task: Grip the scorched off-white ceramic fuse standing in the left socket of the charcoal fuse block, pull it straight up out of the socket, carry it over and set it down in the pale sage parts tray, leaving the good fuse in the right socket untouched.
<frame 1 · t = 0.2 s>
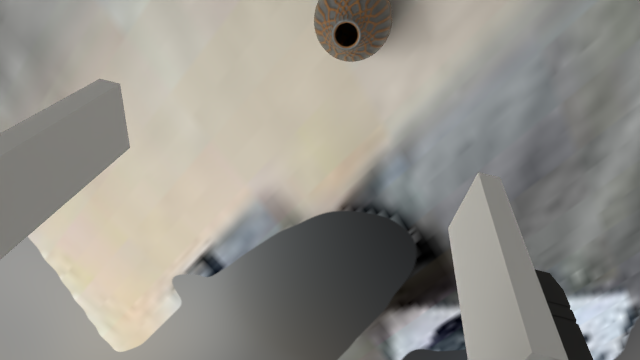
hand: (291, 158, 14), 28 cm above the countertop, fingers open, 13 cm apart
vase: (357, 11, 36), on the countertop
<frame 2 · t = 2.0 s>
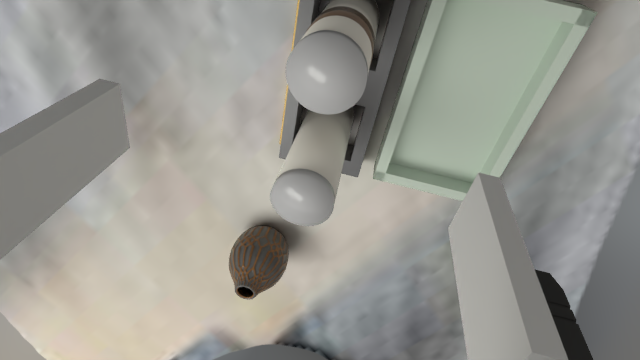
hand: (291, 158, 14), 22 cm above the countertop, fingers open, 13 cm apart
fuse block: (341, 69, 34), on the countertop
blown fuse: (352, 17, 31), resting in fuse block
vase: (268, 236, 48), on the countertop
good fuse: (331, 113, 36), resting in fuse block
parts tray: (461, 98, 33), on the countertop
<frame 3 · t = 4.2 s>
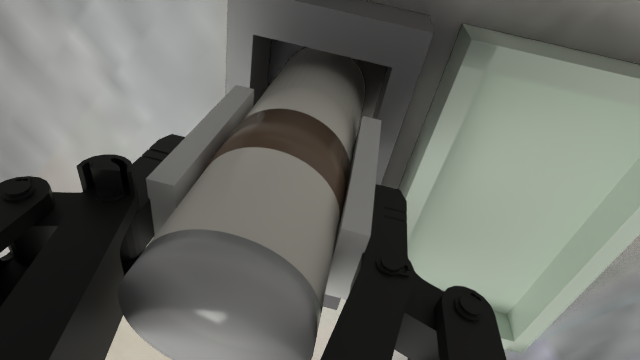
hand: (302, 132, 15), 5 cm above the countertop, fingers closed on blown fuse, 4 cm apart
fuse block: (308, 160, 22), on the countertop
blown fuse: (322, 89, 19), resting in fuse block, touching gripper
parts tray: (493, 207, 21), on the countertop
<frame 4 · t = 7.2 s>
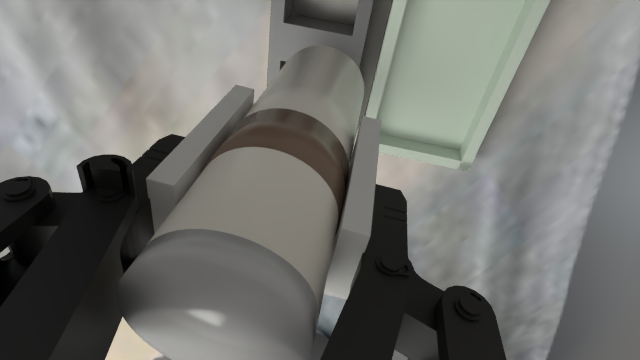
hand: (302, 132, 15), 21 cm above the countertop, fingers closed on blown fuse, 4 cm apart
fuse block: (321, 38, 34), on the countertop
blown fuse: (321, 89, 19), point 16 cm above the countertop, touching gripper
parts tray: (440, 62, 33), on the countertop
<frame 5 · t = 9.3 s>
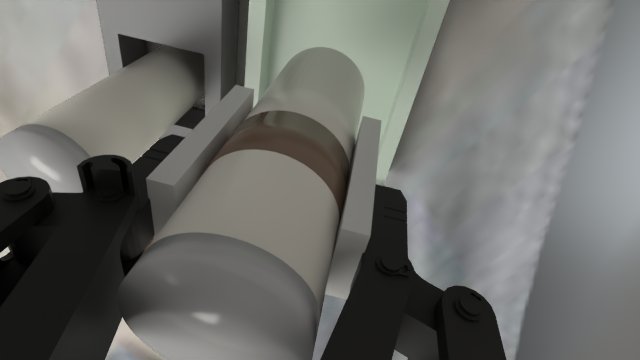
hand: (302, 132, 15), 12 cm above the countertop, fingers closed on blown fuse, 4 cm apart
fuse block: (181, 7, 25), on the countertop
blown fuse: (321, 90, 19), point 7 cm above the countertop, touching gripper
good fuse: (184, 70, 28), resting in fuse block
parts tray: (339, 44, 25), on the countertop
when the fingers open (6 cm above the countertop, at t = 10.6 s): blown fuse drops 1 cm, resting on parts tray.
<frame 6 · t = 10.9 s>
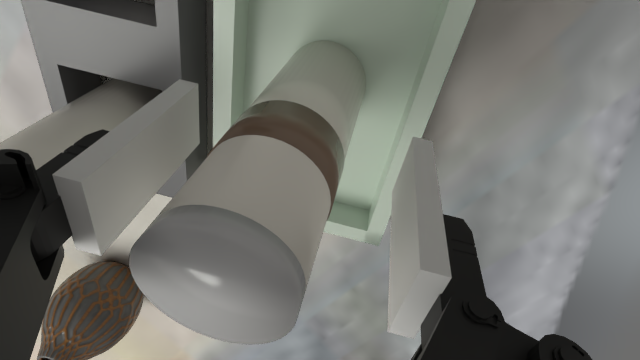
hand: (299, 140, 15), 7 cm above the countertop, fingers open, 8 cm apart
fuse block: (138, 31, 21), on the countertop
blown fuse: (325, 82, 20), point 1 cm above the countertop, touching parts tray
vase: (122, 274, 36), on the countertop
good fuse: (146, 103, 24), resting in fuse block
parts tray: (327, 77, 21), on the countertop
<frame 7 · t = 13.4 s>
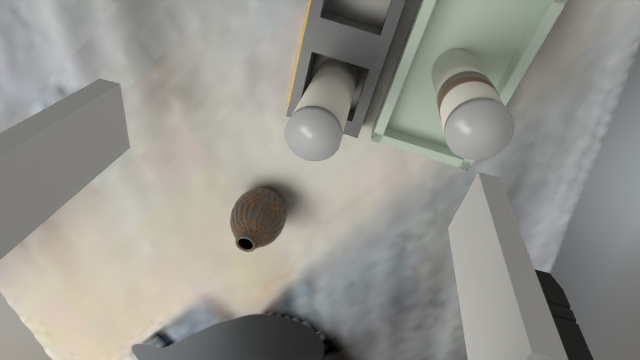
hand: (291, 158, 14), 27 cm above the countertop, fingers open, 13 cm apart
fuse block: (348, 36, 37), on the countertop
blown fuse: (454, 71, 37), point 1 cm above the countertop, touching parts tray
vase: (267, 199, 51), on the countertop
good fuse: (336, 78, 40), resting in fuse block
parts tray: (453, 68, 37), on the countertop
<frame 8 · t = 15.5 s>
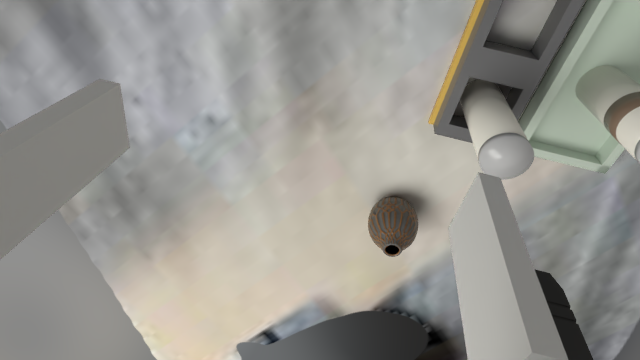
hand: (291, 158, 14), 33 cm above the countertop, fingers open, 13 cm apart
fuse block: (497, 59, 41), on the countertop
blown fuse: (598, 85, 40), point 1 cm above the countertop, touching parts tray
vase: (393, 207, 56), on the countertop
good fuse: (479, 96, 44), resting in fuse block
parts tray: (596, 83, 41), on the countertop
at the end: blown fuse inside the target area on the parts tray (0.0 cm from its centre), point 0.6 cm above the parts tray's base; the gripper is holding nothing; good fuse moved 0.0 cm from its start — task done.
